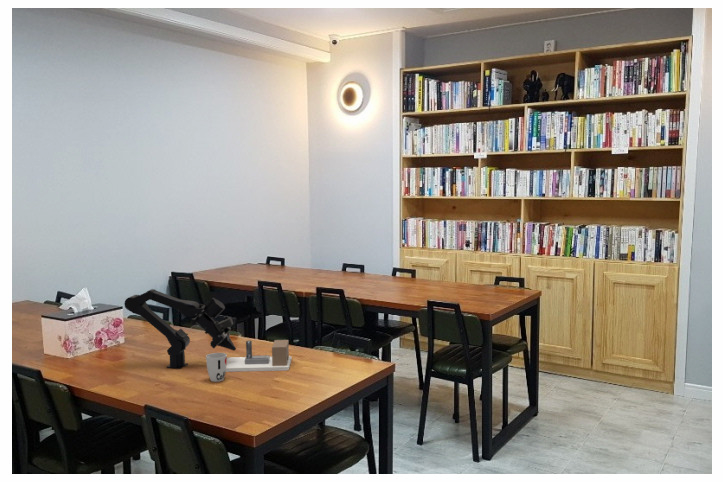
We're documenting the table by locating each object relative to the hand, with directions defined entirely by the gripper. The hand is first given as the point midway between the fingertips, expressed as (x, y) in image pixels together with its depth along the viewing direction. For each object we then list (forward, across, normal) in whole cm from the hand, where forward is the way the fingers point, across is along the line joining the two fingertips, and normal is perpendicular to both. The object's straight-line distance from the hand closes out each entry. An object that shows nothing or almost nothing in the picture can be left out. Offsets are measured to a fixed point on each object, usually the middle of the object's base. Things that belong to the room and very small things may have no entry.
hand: (235, 349), depth 262 cm
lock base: (+11, 0, -1) cm, 11 cm away
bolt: (+10, 0, -3) cm, 11 cm away
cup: (+2, -18, +8) cm, 20 cm away
